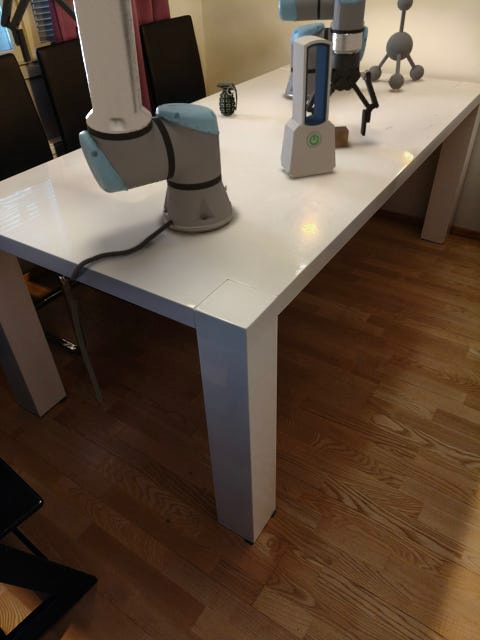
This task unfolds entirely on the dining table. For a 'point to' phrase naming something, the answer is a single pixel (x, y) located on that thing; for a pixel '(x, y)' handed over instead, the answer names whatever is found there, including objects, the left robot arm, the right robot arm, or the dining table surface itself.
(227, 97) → the grenade
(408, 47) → the molecular model
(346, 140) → the block
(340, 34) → the right robot arm
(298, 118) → the electronic device
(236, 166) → the dining table surface
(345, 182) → the dining table surface
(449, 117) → the dining table surface
